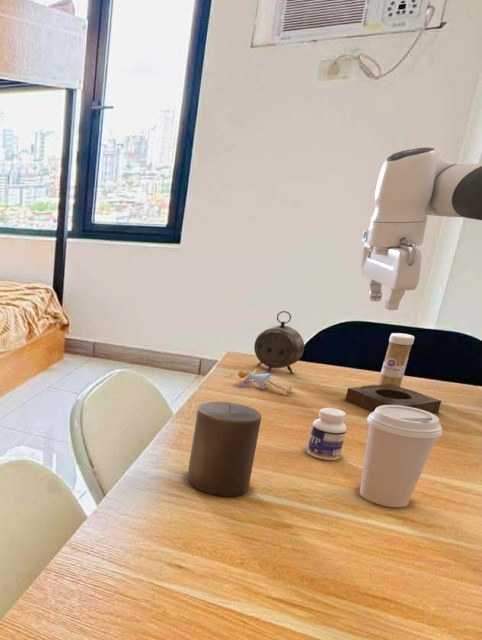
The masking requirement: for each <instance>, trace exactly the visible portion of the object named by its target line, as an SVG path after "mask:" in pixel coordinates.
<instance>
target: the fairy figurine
mask: <svg viewBox="0 0 482 640" xmlns="http://www.w3.org/2000/svg"><path fill="white" fill-rule="evenodd" d="M256 372H257V368H256V369H255V370H254V371H253V372H252V371H251V372H246V371H243V370H239V371H238V372H237V376H238V377H239V379H238V382H240V383H239V384H237V387H243V386H250V385H252V383H256V385H258V386H259V387H260V388H261V390H265V388H267V387H268V388H269V389H270V390H272V391H273V392H276V393H278V394H281V395H283V396H287V394H288V393H291V392H292V389H293V386H294V385H293V384H290V386H289V387H285V386H283V385H282V384H279V383H277V382H274V381H273V380H271V377H272V376H271V375H272V374H271V373H270V372H267V373H261V374H256Z"/></svg>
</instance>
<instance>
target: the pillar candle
mask: <svg viewBox="0 0 482 640" xmlns="http://www.w3.org/2000/svg"><path fill="white" fill-rule="evenodd" d="M261 421H262V413H261V412H260V411H259V410H258V409H256V408H253V407H251V406H248V405H245V404H241V403H236V402H229V401H207V402H203V403H202V402H201V403H199V404H198V406H197V410H196V418H195V425H194V430H193V437H192V444H191V450H190V456H189V460H188V461H189V462H188V469H187V481H188V483H189V484H190V485H191V486H193V487H194V488H195V489H197V490H198V491H201V492H204V493H206V494H210V495H213V496H219V497H233V498H234V497H239V496H242V495H245V494H247V493H248V491H249V488H250V481H251V477H252V473H253V466H254V460H255V456H256V449H257V445H258V437H259V432H260V428H261Z"/></svg>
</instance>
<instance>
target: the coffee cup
mask: <svg viewBox="0 0 482 640" xmlns="http://www.w3.org/2000/svg"><path fill="white" fill-rule="evenodd" d="M366 423H368V430H367V431H368V432H367V439H366V445H365V446H366V447H365V454H364V458H363V459H364V460H363V467H362V473H361V474H362V475H361V481H360V488H359V494H360V496H361V497H362V498H364V499H365V500H367V501H369V502H371V503H373V504H376V505H379V506H383V507H387V508H388V507H389V508H404V507H407V506H408V505H409V503H410V501H411V498H412V496H413V493H414V492H415V489H416V486H417V484H418V482H419V479H420V477H421V475H422V472H423V470H424V468H425V466H426V463H427V461H428V459H429V456H430V454H431V451H432V450H433V447H434V445H435V443H436V440H437V439H438V438H439V437H442V435H443V427H442V425H441V423H440V418H439V417H438V415H436V414H432V413H430V412H427V411H424V410H421V409H417V408H413V407H407V406H400V405H382V406H378V407H377V408H376V409H375V411H371V412H370V413H369V415H368V416H367V418H366Z"/></svg>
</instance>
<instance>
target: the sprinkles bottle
mask: <svg viewBox="0 0 482 640" xmlns="http://www.w3.org/2000/svg"><path fill="white" fill-rule="evenodd" d="M414 341H415V336H414V335H412V334H408V333H401V332H392V333H391V334H390V336H389V339H388V346H387V349H386V354H385V357H384V360H383V364H382V367H381V371H380V376H379V380H378V383H377V385H382V384H393V385H396V386H399V387H401V385H402V382H403V378H404V375H405V371H406V368H407V364H408V360H409V356H410V352H411V349H412V346H413V344H414Z"/></svg>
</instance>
